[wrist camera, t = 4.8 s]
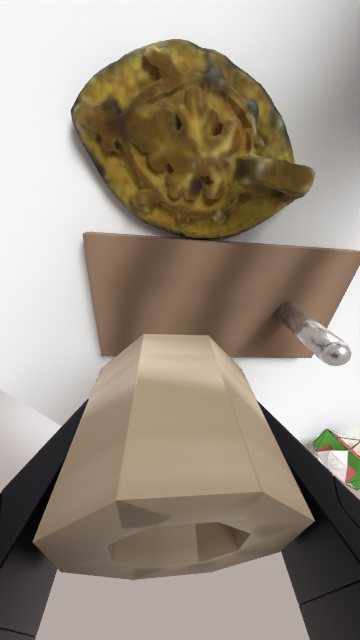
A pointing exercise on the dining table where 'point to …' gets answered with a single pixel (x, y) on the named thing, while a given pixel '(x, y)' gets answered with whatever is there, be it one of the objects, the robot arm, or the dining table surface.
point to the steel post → (314, 335)
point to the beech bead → (170, 470)
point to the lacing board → (212, 290)
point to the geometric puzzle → (339, 458)
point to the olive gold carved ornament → (188, 141)
